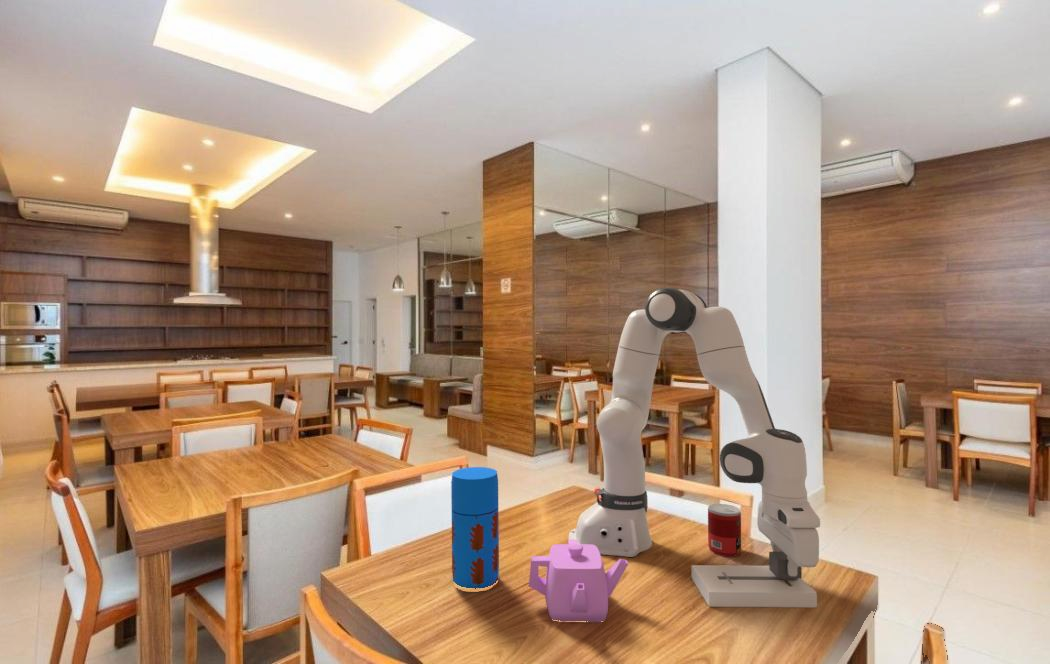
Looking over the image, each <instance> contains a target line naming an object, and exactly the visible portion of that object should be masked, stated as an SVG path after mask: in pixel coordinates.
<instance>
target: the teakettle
mask: <svg viewBox="0 0 1050 664" xmlns="http://www.w3.org/2000/svg"><path fill="white" fill-rule="evenodd" d="M567 542H568V543H559V544H558V543H557V544H555V543H554V544H553V545H552V546H551V548H550V550H549V555H541V556H540V555H538V556H537V555H535V556H534V555H533V556H531V557H530V570H529V580H528V587H530V588H531V589H533V590H534V591H536V592H538V593H540V594H541V595H543V596H544V597H545V604H546V607H547V608H546V609H547V612H548V615H549V618H550V617H551V618H550V620H551V619H553V620H558V621H559V620H560V621H586V622H587V621H588V622H598V623H602V622H601V621H604V620H605V621H606V618H607V616H608V612H609V611H608V609H609V598H610V597H612V595H613V592H614V590H615V588H616V587H617V585H618V583H619V581H620V580H621V578H622V576H623V575H624V573H625V571H626V569H627V568H628V567H629V561H628V560H627V559H622V558H618V560H617V561H616V562H615V563H614V564H613V565H612V566H611V568H609V569H608V570H607V572H605V567H604V563H603V558H602V554H600V552H599V550H598V548H597V547H596V546H595V545H591V544H578V540H571V539H569V538H568V540H567ZM539 567H546V573H545V574H546V575H545V578H543V577H540V576H539ZM605 621H604V622H605Z"/></svg>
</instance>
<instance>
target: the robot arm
mask: <svg viewBox="0 0 1050 664" xmlns="http://www.w3.org/2000/svg"><path fill="white" fill-rule="evenodd" d="M668 334H671V335H677V334H688V335H689V336H690V337H691V338H692V341H693V344H694V348H695V352H696V357H697V361H698V366H699V369H700V371H701V374H702V376H703V378H704V380H705V381H706V382H707V383H708V384H709V385H711V386H713V387H714V388H716V389H719V390H721V391H722V392H723V391H724V393H727V394H728V395H730V396H731V397H732V398H733V399H734V400H735V401H736V403H737V405H738V407H739V410H740V412H741V413H740V414H741V416H742V419H743V422H744V425H745V428H746V431H747V437H746V438H741V439H736V440H733V441H731V442H728V443H726V444H725V445H724V446H723V447H722V448H721V451H720V453H719V464H720V467H721V469H722V472H723V473H724V474H725V476H727V478H729V479H730V480H731V481H733V482H736V483H741V484H758V485H760V486H761V501H759V502H758V507H757V528H758V531H759V532H760V533H761V534H762V535H763V536H765V537H766V538H767V539H768V540H769V541H770V546H771V547H770V548H771V550H772V552H784V553H785V554H786V555H787V559H788V560H789V561H788V565H786V573H787V574H788V575H789V576H797V568H798V566H799V567H801V568H815V567H817V565H818V564H819V561H820V560H819V558H820V536H819V531H818V530H817V528H820V527H821V519H820V517H819V515H818V514H817V512H815V510H814V509H813V507H812V505H811V504H810V502H809V501H808V491H807V487H806V479H807V475H808V465H807V454H806V448H805V444H804V441H803V439H802V437H800V436H799V435H797V433H794V432H792V431H789V430H786V429H779V428H776V427H775V425H774V421H773V419H772V416H771V413H770V410H769V408H768V404H767V402H766V401H767V400H766V398H765V396H764V392H763V390H762V387H761V385H760V383H759V381H758V379H757V377H756V375H755V373H754V372H753V370H752V367H751V364H750V362H749V361H750V360H749V358H748V354H747V351H746V348H745V343H744V339H743V336H742V333H741V330H740V327H739V325H738V323H737V321H736V319H735V316H734V314H733V313H732V311H731V310H730V309H729V308H726V307H724V306H723V307H722V306H710V307H708V306H707V303H706V302H705V300H704V299H703V298H702V297H700V295H697V294H695V293H693V292H691V291H688V290H687V289H682V288H681V289H680V288H679V289H677V288H675V287H663V288H660V289H657V290H655V291H653V292H652V293H651V294H650V295H649V296H648V298H647V300H646V302H645V309H643V308H642V309H635V310H634V311H632V312H631V313H630V314H629V315H628V317H627V319H626V321H625V324H624V326H623V328H622V332H621V335H620V339H619V342H618V346H617V347H618V348H617V351H616V352H617V353H616V356H615V360H614V364H613V365H614V367H613V370H612V390H611V391H612V392H611V398H610V402H609V403H608V404H606V405H605V406H604V407H603V408H602V409H601V410H600V413H599V415H598V417H597V422H596V428H597V431H598V435H599V439H600V441H599V442H600V446H601V452H602V458H603V486H604V487H603V488H600V487H599V486H595V487H594V488H593V493H594V495H595V496H596V502H595V503H594V504H593V505H591V506H590V507H589V508H587V509H586V510H584V511H583V512H581V513H580V515H578V520H577V523H576V528H573V529H572V530H570V531H569V534H568V539H571V540H578V544H591V545H595V546H596V547H597V548H598V550H599V552H600V555H607V556H618V557H629V558H633V557H637V555H638V554H639V553H641V552H645V551H647V550H649V549H650V548H651V547H652V546H653V540H652V538H651V534H650V530H649V523H648V518H647V517H648V516H647V512H648V505H649V504H648V503H649V502H648V491H647V490H646V460H645V458H644V451H643V444H642V431H643V430H644V429H645V427H646V426H647V423H648V419H649V414H650V409H651V401H652V395H653V394H652V393H653V388H654V387H653V386H654V382H655V378H656V377H655V375H656V373H657V367H658V364H659V363H658V362H659V359H660V353H661V348H662V343H663V341H664V339H665V337H666V336H667V335H668Z"/></svg>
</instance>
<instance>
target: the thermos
mask: <svg viewBox="0 0 1050 664" xmlns="http://www.w3.org/2000/svg"><path fill="white" fill-rule="evenodd" d="M450 484H451V485H450V486H451V487H450V488H451V491H450V492H451V494H450V495H451V572H452V582H453V581H454V582H455V583H456V584H457V585H459V586H461V587H466V588H475V589H476V588H485V587H488V586H491V585H493V584H494V583H496V581H497V580H498V581H499V577H500V576H499V573H500V572H499V571H500V545H499V540H500V538H499V536H500V535H499V534H500V533H499V532H500V530H499V529H500V528H499V526H500V525H499V523H500V522H499V521H500V520H499V476H498V471H497V470H496V469H494V468H491V467H487V466H486V467H484V466H475V467H474V466H471V467H464V468H460V469H459V468H458V469H456V470H455V471H453V472H452V475H451V481H450Z"/></svg>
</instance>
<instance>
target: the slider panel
mask: <svg viewBox="0 0 1050 664" xmlns="http://www.w3.org/2000/svg"><path fill="white" fill-rule="evenodd" d="M691 580H692V581H693V583H694V584H695V586H696V588H697V590H698V592H700V595H701V596H702V598H703V599H704V601H705V602H706V604H707V605H708V607H711V608H713V607H715V608H716V607H717V608H719V607H723V608H725V607H727V608H728V607H732V608H735V607H736V608H737V607H738V608H818V593H817V591H816V590H814V588H812V587H811V586H810V585H809V584H808V583H807V582H806V581H805V580H804V579H803V578H777V577H776V576H775V575H774V574H773V573H772V572H771V571H770V570H769V565H727V564H726V565H723V564H722V565H717V564H716V565H715V564H714V565H712V564H710V565H707V564H706V565H704V564H703V565H700V564H699V565H698V564H697V565H695V564H694V565H691Z"/></svg>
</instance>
